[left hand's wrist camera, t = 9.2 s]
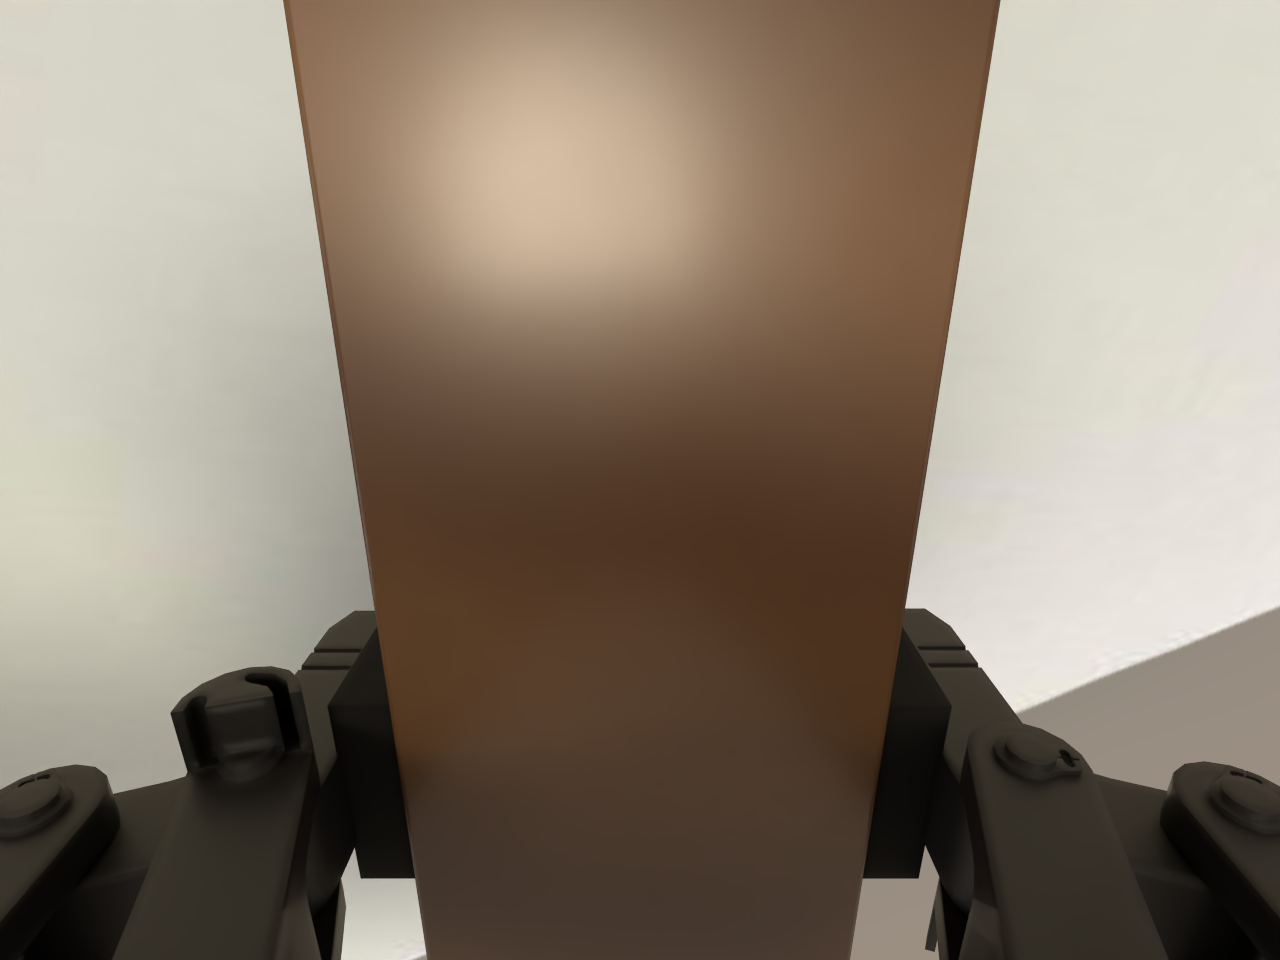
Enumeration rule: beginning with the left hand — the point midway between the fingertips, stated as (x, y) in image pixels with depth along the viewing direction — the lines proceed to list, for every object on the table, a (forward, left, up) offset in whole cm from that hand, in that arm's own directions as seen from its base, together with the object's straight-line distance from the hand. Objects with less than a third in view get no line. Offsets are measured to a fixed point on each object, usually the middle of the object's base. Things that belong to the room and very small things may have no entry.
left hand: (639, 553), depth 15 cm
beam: (+14, +24, -1) cm, 28 cm away
